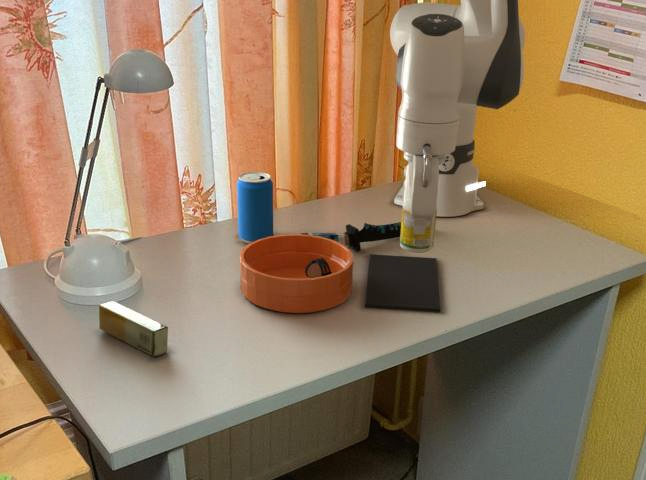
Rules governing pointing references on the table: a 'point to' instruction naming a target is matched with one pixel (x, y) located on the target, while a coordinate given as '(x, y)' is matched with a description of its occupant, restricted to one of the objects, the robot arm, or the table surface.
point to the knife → (363, 234)
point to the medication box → (133, 328)
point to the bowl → (295, 273)
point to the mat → (403, 283)
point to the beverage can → (255, 206)
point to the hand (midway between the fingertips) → (418, 224)
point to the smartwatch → (317, 268)
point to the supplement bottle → (412, 240)
